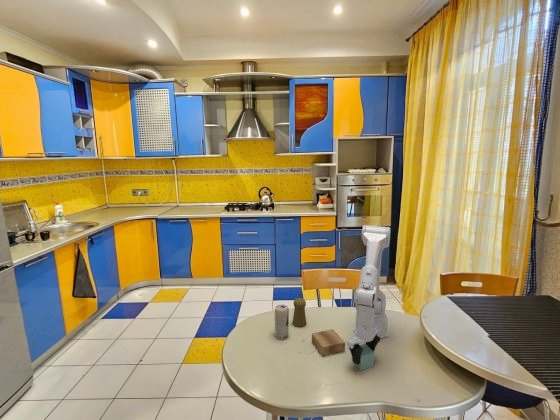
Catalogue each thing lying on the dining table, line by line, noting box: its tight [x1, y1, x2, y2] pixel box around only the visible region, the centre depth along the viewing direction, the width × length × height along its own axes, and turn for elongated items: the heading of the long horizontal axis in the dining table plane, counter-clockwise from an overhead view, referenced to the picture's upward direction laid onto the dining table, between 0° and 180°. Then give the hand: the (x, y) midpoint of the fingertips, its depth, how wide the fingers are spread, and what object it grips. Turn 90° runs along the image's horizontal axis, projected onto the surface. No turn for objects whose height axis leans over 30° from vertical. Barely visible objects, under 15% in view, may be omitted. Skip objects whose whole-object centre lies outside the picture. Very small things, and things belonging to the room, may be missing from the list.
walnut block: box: [311, 328, 346, 358], centre depth 112 cm, size 9×9×4 cm
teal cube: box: [351, 343, 375, 371], centre depth 103 cm, size 5×5×5 cm
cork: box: [291, 297, 308, 329], centre depth 127 cm, size 6×6×11 cm
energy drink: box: [274, 304, 290, 340], centre depth 118 cm, size 5×5×12 cm
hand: (362, 359), depth 103 cm, fingers closed on teal cube, 6 cm apart
